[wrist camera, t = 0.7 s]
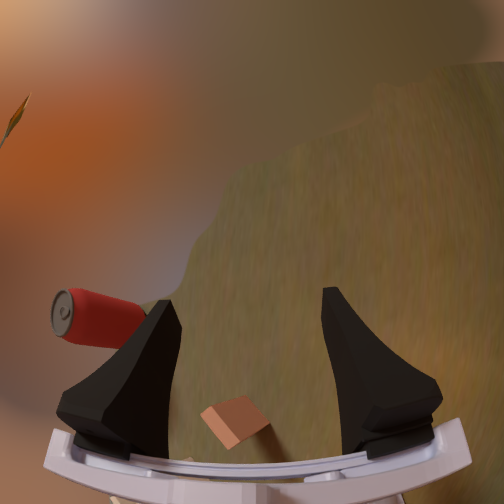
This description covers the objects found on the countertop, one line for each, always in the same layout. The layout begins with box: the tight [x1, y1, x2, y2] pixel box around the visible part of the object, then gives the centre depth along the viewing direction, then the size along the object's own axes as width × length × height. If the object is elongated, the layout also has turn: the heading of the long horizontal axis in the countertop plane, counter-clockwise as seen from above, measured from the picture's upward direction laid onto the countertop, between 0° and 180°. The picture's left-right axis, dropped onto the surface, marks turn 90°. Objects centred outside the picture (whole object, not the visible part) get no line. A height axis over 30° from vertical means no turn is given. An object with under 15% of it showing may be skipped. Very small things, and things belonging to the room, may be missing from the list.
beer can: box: [50, 288, 146, 349], centre depth 31 cm, size 7×7×12 cm
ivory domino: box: [110, 496, 136, 504], centre depth 24 cm, size 2×4×7 cm, turn 42°
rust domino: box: [200, 395, 270, 450], centre depth 23 cm, size 2×4×7 cm, turn 43°
